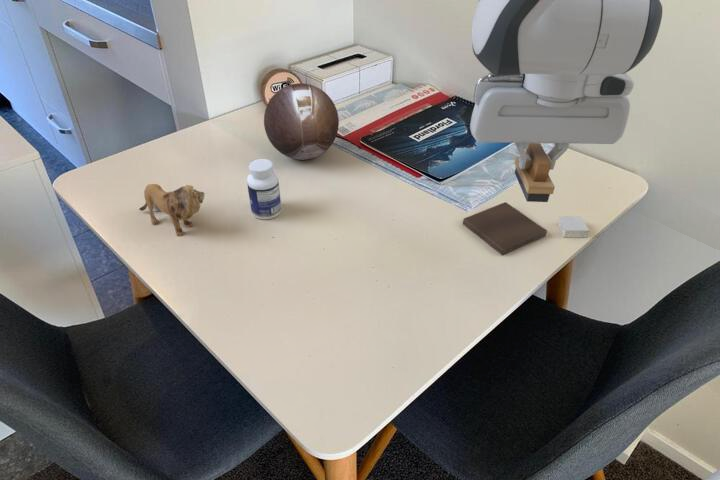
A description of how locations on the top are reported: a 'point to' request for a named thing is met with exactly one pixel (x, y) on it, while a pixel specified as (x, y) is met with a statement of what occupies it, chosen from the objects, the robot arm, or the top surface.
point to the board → (504, 228)
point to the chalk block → (573, 227)
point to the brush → (535, 175)
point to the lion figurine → (173, 204)
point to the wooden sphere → (301, 121)
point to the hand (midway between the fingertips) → (535, 167)
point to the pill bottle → (263, 189)
